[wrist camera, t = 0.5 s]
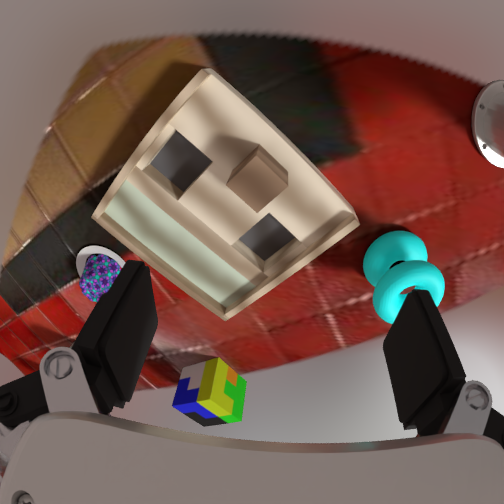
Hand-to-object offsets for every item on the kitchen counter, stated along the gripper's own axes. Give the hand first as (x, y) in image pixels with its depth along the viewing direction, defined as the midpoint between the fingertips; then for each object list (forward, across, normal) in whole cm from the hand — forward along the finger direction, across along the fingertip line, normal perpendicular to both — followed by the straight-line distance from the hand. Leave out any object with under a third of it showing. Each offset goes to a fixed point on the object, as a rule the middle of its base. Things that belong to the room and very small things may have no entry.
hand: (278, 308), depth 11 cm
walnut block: (+26, +2, +4) cm, 27 cm away
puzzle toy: (+30, +7, +51) cm, 59 cm away
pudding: (+30, +27, +26) cm, 48 cm away
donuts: (+29, -19, +16) cm, 38 cm away
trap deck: (+29, +6, +10) cm, 32 cm away
